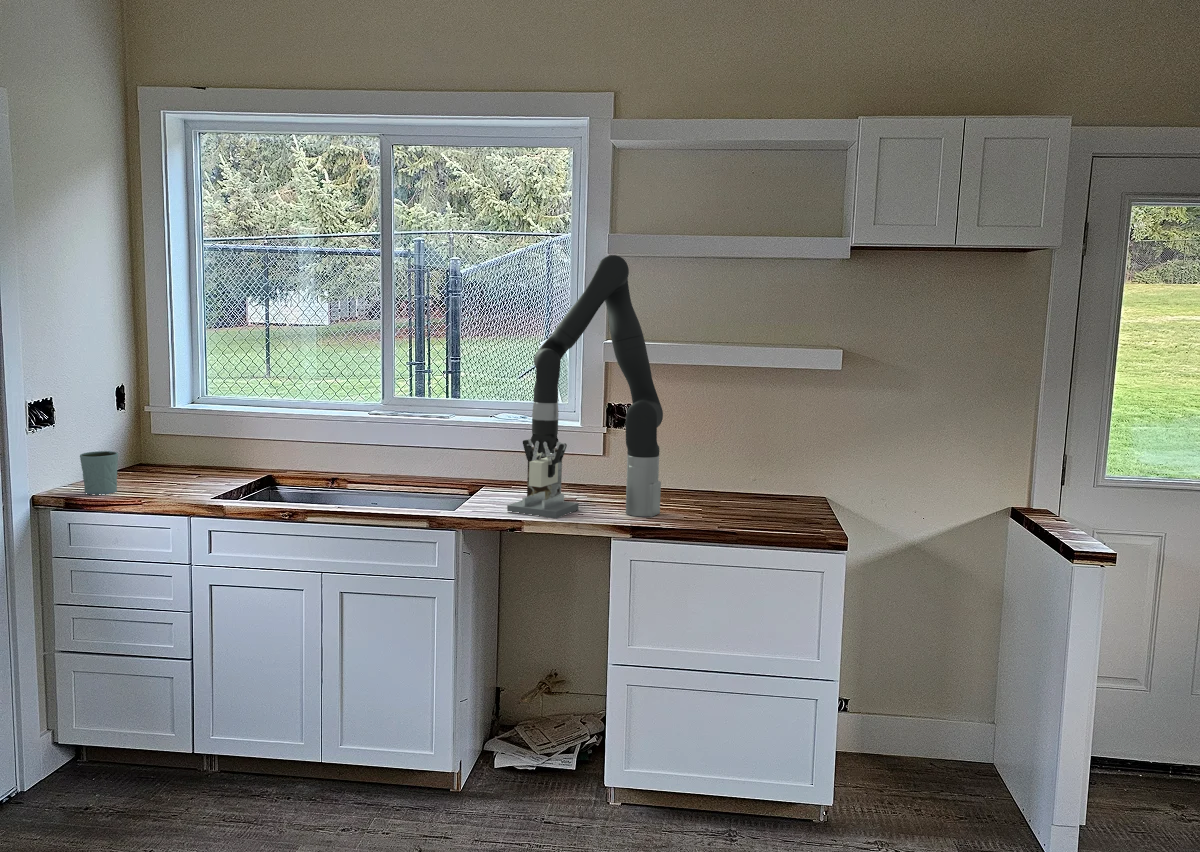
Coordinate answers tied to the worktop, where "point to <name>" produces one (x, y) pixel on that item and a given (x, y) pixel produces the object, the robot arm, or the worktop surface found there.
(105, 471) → the green cup
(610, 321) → the robot arm
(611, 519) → the worktop surface
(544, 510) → the book rack
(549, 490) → the coffee box
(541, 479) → the block
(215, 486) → the worktop surface
